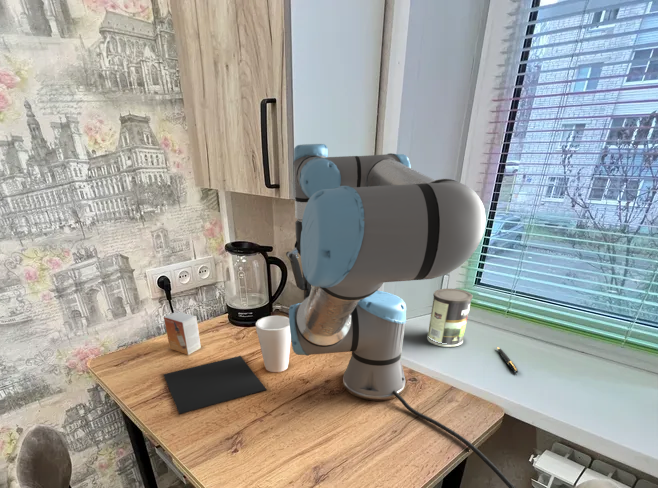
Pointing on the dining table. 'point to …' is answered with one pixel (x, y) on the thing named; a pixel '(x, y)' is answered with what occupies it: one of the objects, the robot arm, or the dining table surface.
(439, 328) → the coffee can
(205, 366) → the mat
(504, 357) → the fountain pen
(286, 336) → the foam cup
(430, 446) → the dining table surface
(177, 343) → the small box
